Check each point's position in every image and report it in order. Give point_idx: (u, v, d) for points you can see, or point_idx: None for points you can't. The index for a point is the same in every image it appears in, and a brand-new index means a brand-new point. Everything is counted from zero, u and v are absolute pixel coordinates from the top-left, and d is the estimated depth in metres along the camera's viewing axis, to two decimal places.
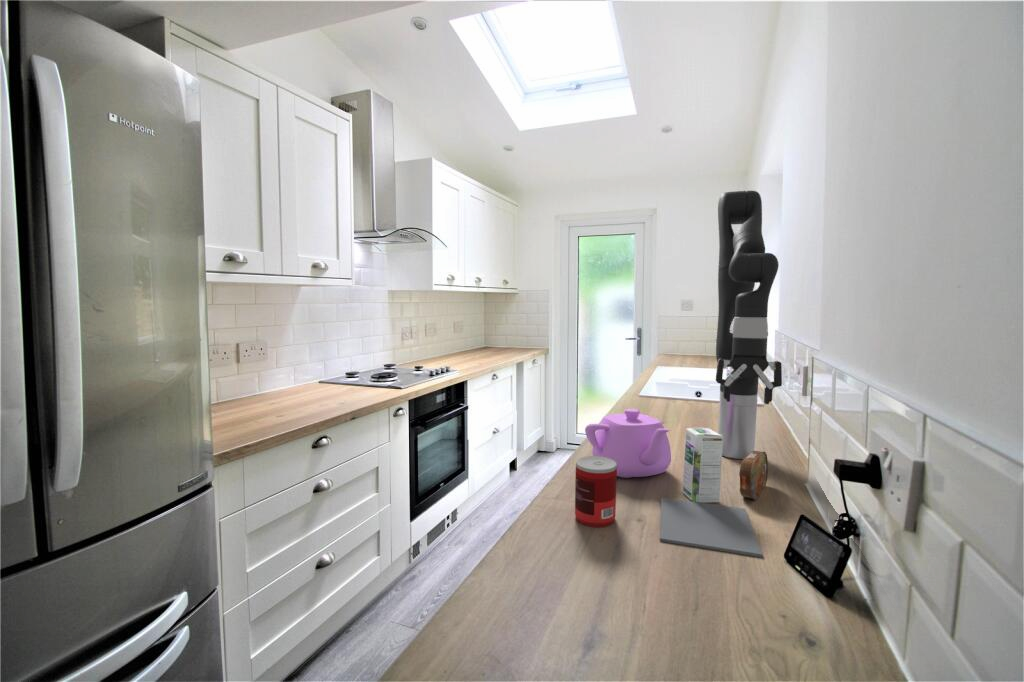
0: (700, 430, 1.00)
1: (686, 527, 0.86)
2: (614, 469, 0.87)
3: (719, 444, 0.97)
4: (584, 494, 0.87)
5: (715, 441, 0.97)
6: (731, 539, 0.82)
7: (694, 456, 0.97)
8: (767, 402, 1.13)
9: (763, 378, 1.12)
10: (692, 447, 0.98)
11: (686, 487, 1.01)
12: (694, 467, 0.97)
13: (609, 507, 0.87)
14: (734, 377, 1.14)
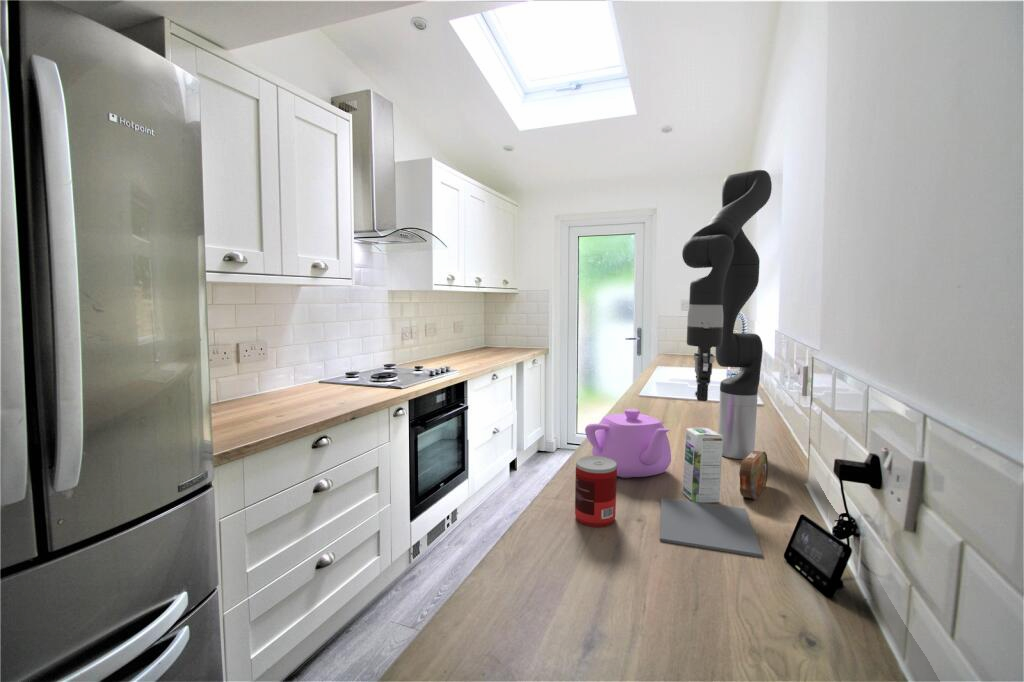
0: (700, 430, 1.00)
1: (686, 527, 0.86)
2: (614, 469, 0.87)
3: (719, 444, 0.97)
4: (584, 494, 0.87)
5: (715, 441, 0.97)
6: (731, 539, 0.82)
7: (694, 456, 0.97)
8: None
9: None
10: (692, 447, 0.98)
11: (686, 487, 1.01)
12: (694, 467, 0.97)
13: (609, 507, 0.87)
14: (711, 372, 1.06)
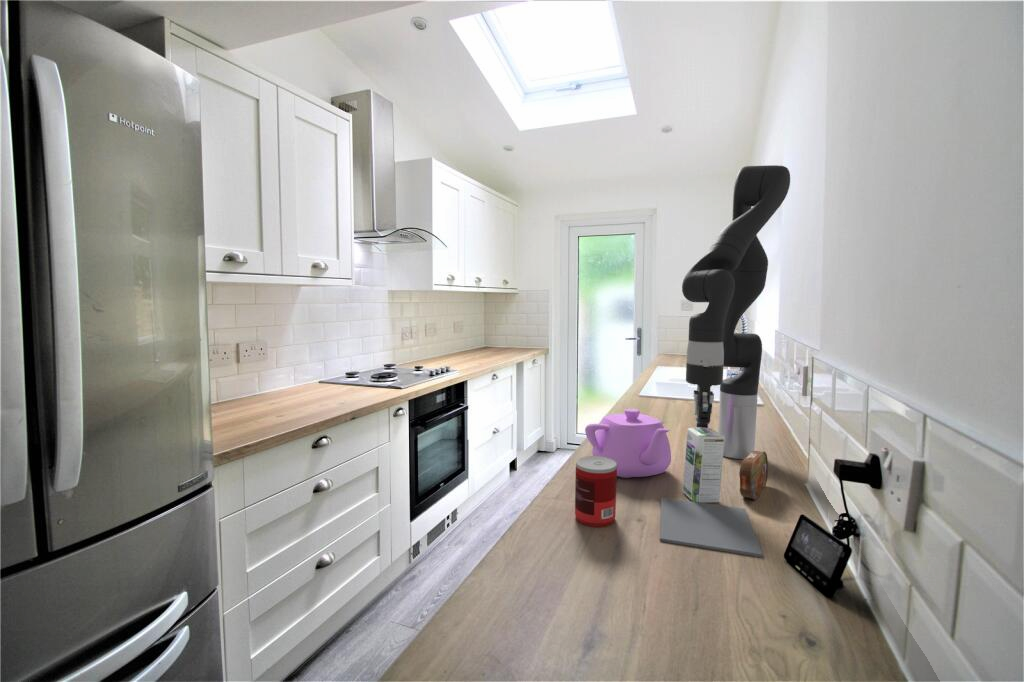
0: (702, 430, 0.99)
1: (686, 527, 0.86)
2: (614, 469, 0.87)
3: (720, 445, 0.96)
4: (584, 494, 0.87)
5: (717, 442, 0.96)
6: (731, 539, 0.82)
7: (695, 457, 0.97)
8: None
9: None
10: (693, 447, 0.98)
11: (686, 486, 1.00)
12: (695, 468, 0.97)
13: (609, 507, 0.87)
14: (711, 411, 1.02)
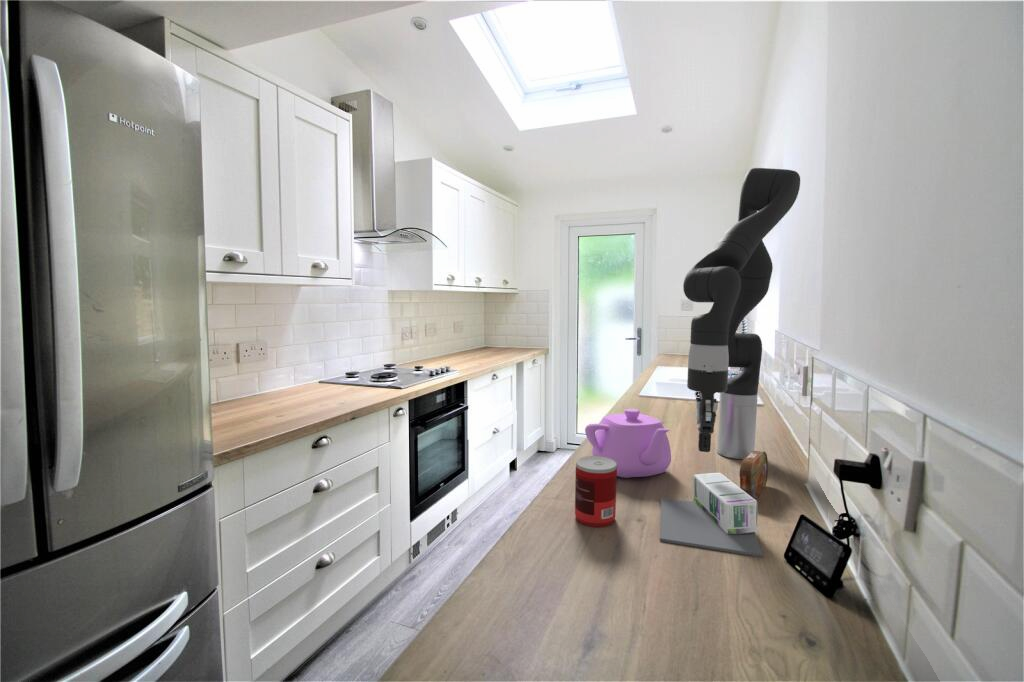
0: (739, 516, 0.83)
1: (686, 527, 0.86)
2: (614, 469, 0.87)
3: None
4: (584, 494, 0.87)
5: None
6: (731, 539, 0.82)
7: (715, 518, 0.88)
8: None
9: None
10: (718, 516, 0.86)
11: (697, 488, 0.95)
12: (709, 515, 0.90)
13: (609, 507, 0.87)
14: (714, 420, 0.95)
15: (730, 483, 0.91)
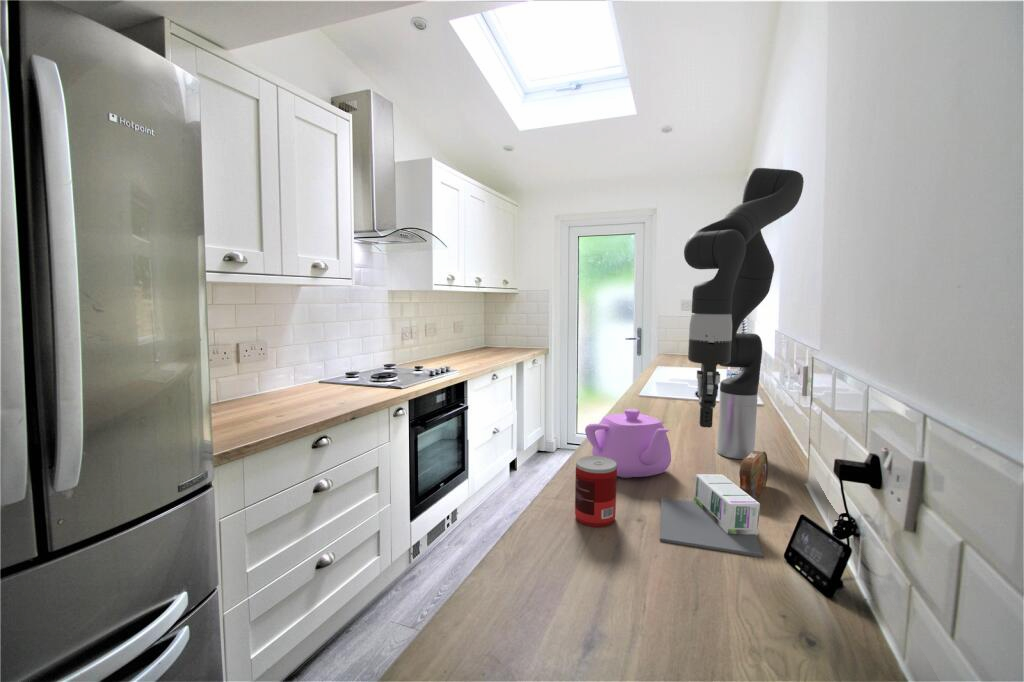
0: (741, 517, 0.83)
1: (686, 527, 0.86)
2: (614, 469, 0.87)
3: None
4: (584, 494, 0.87)
5: None
6: (731, 539, 0.82)
7: (715, 518, 0.88)
8: None
9: None
10: (719, 516, 0.86)
11: (698, 487, 0.95)
12: (709, 515, 0.90)
13: (609, 507, 0.87)
14: (717, 394, 0.90)
15: (733, 485, 0.91)
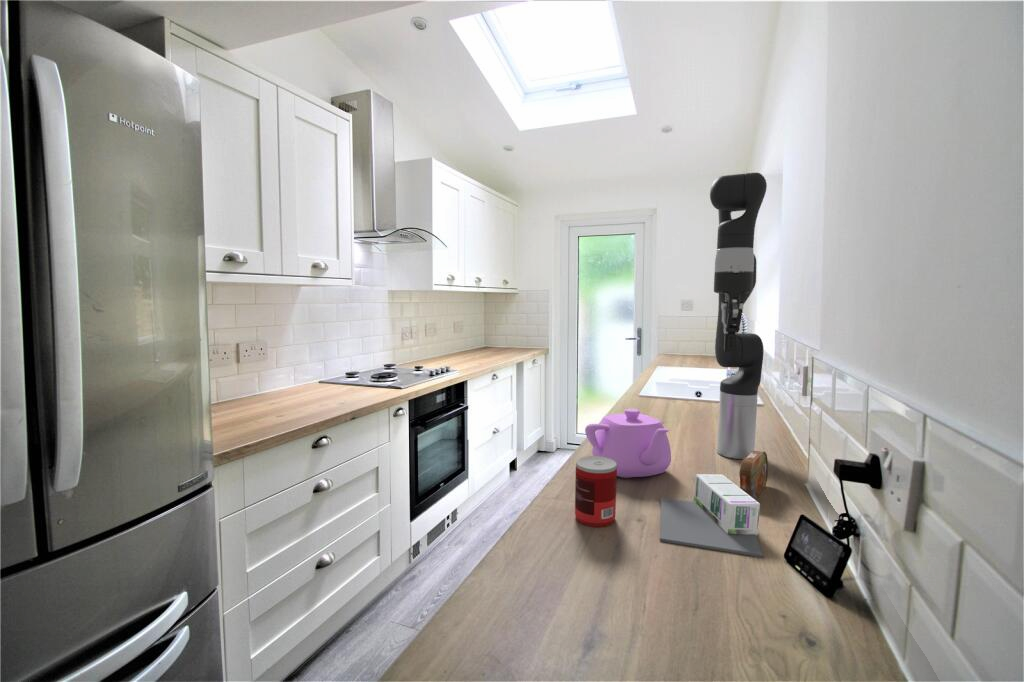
0: (741, 517, 0.83)
1: (686, 527, 0.86)
2: (614, 469, 0.87)
3: None
4: (584, 494, 0.87)
5: None
6: (731, 539, 0.82)
7: (715, 518, 0.88)
8: None
9: None
10: (719, 516, 0.86)
11: (698, 487, 0.95)
12: (709, 515, 0.90)
13: (609, 507, 0.87)
14: None
15: (733, 485, 0.91)
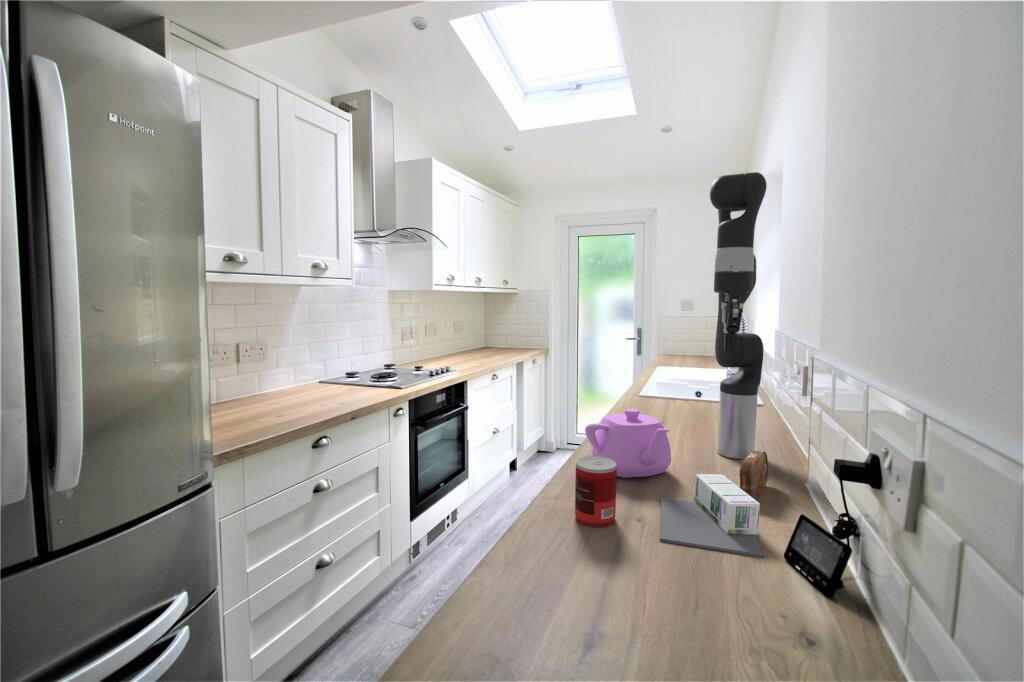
0: (741, 517, 0.83)
1: (686, 527, 0.86)
2: (614, 469, 0.87)
3: None
4: (584, 494, 0.87)
5: None
6: (731, 539, 0.82)
7: (715, 518, 0.88)
8: None
9: None
10: (719, 516, 0.86)
11: (698, 487, 0.95)
12: (709, 515, 0.90)
13: (609, 507, 0.87)
14: None
15: (733, 485, 0.91)
